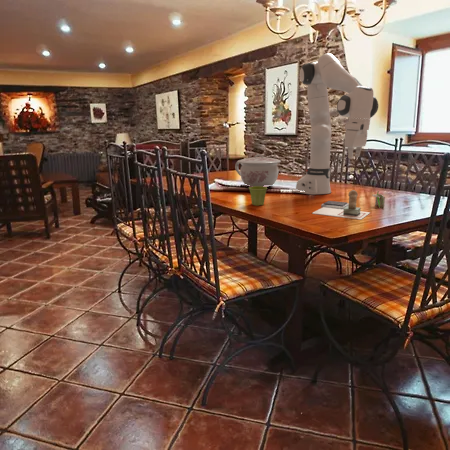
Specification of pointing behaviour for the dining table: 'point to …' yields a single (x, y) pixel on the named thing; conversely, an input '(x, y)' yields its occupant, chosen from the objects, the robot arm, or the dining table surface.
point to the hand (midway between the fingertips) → (353, 157)
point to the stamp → (352, 205)
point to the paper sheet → (339, 213)
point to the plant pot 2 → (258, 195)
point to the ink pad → (335, 204)
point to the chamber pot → (258, 170)
